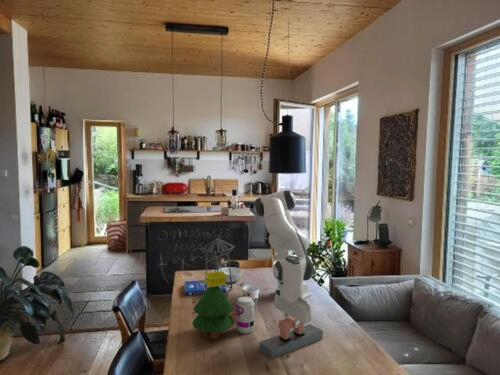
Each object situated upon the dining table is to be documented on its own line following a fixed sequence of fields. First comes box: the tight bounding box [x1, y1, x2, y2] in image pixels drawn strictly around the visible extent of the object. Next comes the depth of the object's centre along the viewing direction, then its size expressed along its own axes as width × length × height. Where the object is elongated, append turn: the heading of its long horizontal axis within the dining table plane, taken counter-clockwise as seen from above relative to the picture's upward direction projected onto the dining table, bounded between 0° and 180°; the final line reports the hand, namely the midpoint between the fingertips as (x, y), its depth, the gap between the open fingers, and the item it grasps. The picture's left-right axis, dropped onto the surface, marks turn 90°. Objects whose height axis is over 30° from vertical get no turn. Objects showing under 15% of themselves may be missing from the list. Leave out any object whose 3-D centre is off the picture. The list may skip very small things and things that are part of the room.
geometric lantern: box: [200, 237, 235, 298], centre depth 214 cm, size 16×16×35 cm
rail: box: [258, 323, 324, 360], centre depth 161 cm, size 30×8×4 cm, turn 125°
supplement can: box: [236, 296, 255, 334], centre depth 174 cm, size 8×8×15 cm
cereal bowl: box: [219, 266, 243, 284], centre depth 244 cm, size 17×17×7 cm
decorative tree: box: [191, 271, 235, 340], centre depth 168 cm, size 19×19×30 cm
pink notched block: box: [278, 316, 306, 339], centre depth 161 cm, size 12×4×7 cm, turn 125°
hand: (292, 325), depth 161 cm, fingers closed on pink notched block, 3 cm apart
